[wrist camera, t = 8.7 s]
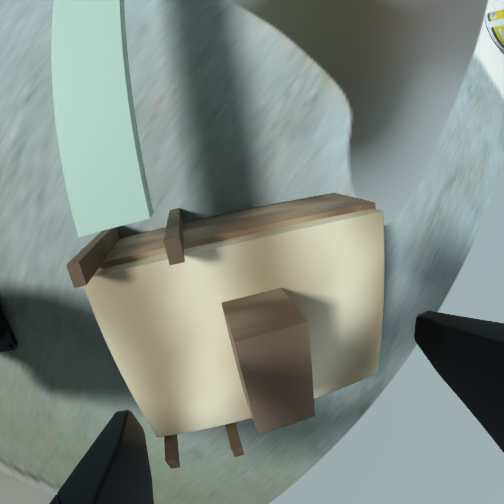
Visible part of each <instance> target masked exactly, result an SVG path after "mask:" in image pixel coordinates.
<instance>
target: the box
mask: <svg viewBox="0 0 504 504" xmlns="http://www.w3.org/2000/svg"><path fill="white" fill-rule="evenodd" d="M372 208H373V209H375V203H374V202H370V201H366V200H362V199H358V198H354V197H349V196H345V195H341V194H336V193H331V194H325V195H320V196H314V197H309V198H303V199H298V200H292V201H287V202H282V203H277V204H272V205H267V206H262V207H257V208H252V209H247V210H242V211H237V212H232V213H228V214H223V215H218V216H214V217H209V218H204V219H200V220H195V221H191V222H187V223H182V218H181V214H180V209H179V208H178V209H173V210H170V213H169V217H168V222H167V227H165V228H161V229H157V230H152V231H148V232H144V233H140V234H136V235H132V236H128V237H124V238H120V235H119V231H118V227H115V228H111V229H107V230H104V231H102V232H101V233H100V234H98V235H97V236H96V237H95V238H94V239H93V240H92V241H91V242H90V243H89V244H88V245H87V246H86V247H85V248H83V249H82V250H81V251H80V252H79V253H78V254H77V255H76V256H75V257H74V258H73V259H72V260H71V261H70V262H69V263H68V264H67V268H68V271H69V274H70V277H71V280H72V283H73V286H74V288H76V287H81V286H85V285H87V284H88V282H89V281H90V279H91V278H92V277H93V275H94V274H95V272H96V271H97V270H99V269H103V268H107V267H112V266H116V265H120V264H124V263H128V262H132V261H136V260H141V259H145V258H149V257H153V256H157V255H162V254H166V253H167V257H168V260H169V264H170V265H174V264H179V263H183V262H185V257H184V249H188V248H192V247H196V246H201V245H205V244H209V243H214V242H218V241H223V240H227V239H231V238H236V237H240V236H245V235H249V234H254V233H259V232H263V231H268V230H272V229H277V228H281V227H286V226H291V225H295V224H300V223H305V222H309V221H314V220H319V219H324V218H328V217H333V216H338V215H343V214H348V213H353V212H357V211H362V210H367V209H372ZM226 429H227V433H228V437H229V441H230V445H231V449H232V451H233V454H234V456H235V457H237V456H241V455H244V452H243V449H242V445H241V442H240V438H239V435H238V431H237V428H236V424H235V422H234V423H230V424H226ZM164 441H165V461H166V462H167V464H168V465H169V466H170V468H178V467H180V463H179V453H178V441H177V434H175V435H169V436H164Z"/></svg>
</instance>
